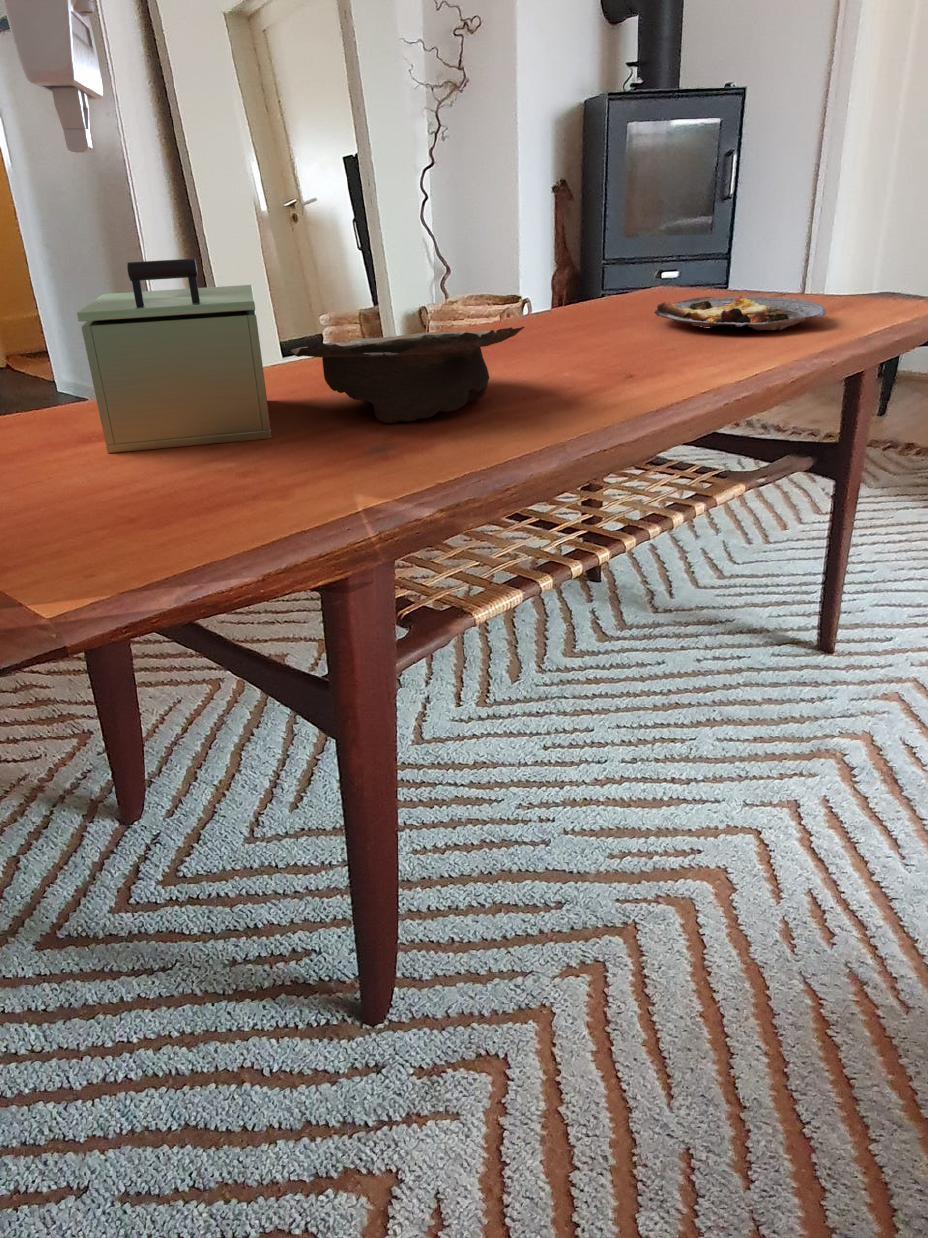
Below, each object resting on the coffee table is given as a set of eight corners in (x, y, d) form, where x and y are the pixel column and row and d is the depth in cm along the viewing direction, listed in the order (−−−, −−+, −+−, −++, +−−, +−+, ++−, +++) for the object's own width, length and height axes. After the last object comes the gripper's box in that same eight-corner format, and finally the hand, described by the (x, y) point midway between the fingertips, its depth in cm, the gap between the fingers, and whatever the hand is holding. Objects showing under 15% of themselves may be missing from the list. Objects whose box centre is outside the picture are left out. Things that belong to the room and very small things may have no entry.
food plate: (719, 342, 130) (721, 316, 128) (625, 322, 149) (626, 299, 147) (855, 324, 139) (858, 300, 137) (750, 307, 158) (752, 285, 156)
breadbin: (271, 438, 92) (255, 314, 87) (107, 453, 90) (81, 325, 84) (266, 399, 108) (252, 292, 103) (126, 411, 105) (104, 302, 100)
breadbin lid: (255, 309, 86) (248, 256, 84) (78, 321, 84) (67, 266, 82) (252, 292, 103) (247, 247, 101) (104, 301, 100) (96, 255, 98)
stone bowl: (442, 441, 88) (430, 340, 84) (253, 431, 101) (235, 344, 97) (563, 384, 106) (558, 299, 102) (390, 383, 120) (379, 307, 116)
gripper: (30, -14, 85) (62, 155, 91) (-26, -65, 67) (19, 150, 73) (102, -14, 86) (129, 153, 92) (67, -64, 68) (103, 148, 74)
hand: (80, 151), depth 83 cm, fingers closed
